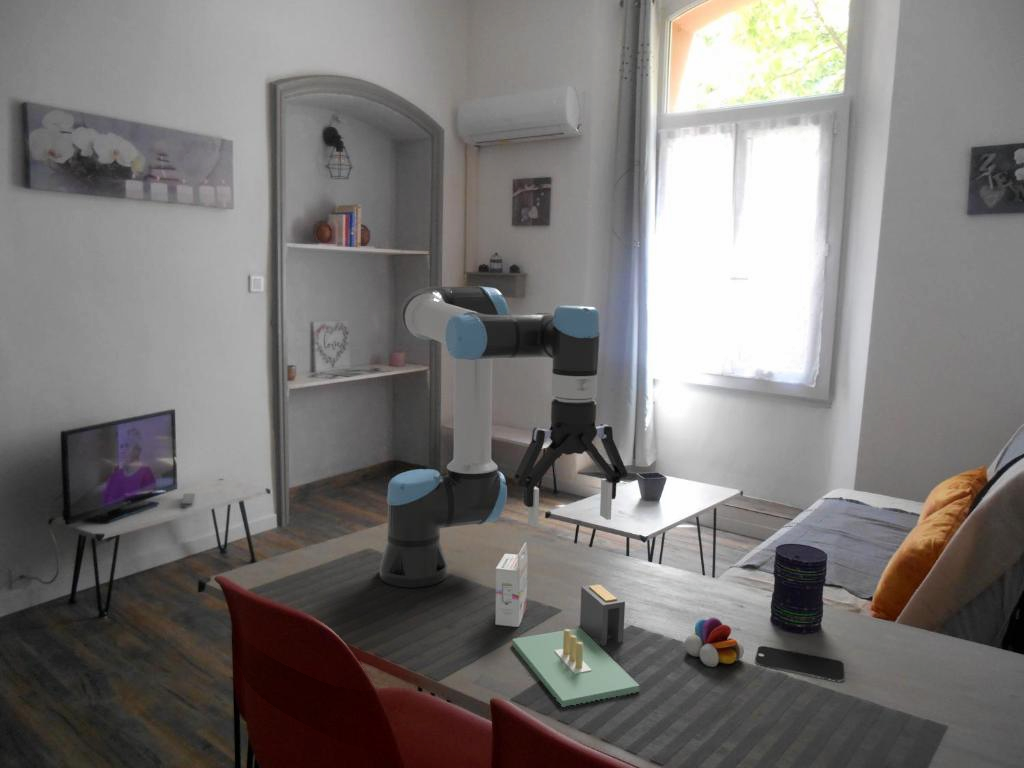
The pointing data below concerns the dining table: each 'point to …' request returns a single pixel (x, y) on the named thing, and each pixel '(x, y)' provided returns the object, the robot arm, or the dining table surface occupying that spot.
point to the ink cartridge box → (511, 588)
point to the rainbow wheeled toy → (713, 643)
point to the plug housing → (602, 613)
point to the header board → (574, 667)
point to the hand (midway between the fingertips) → (569, 521)
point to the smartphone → (800, 663)
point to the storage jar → (798, 588)
